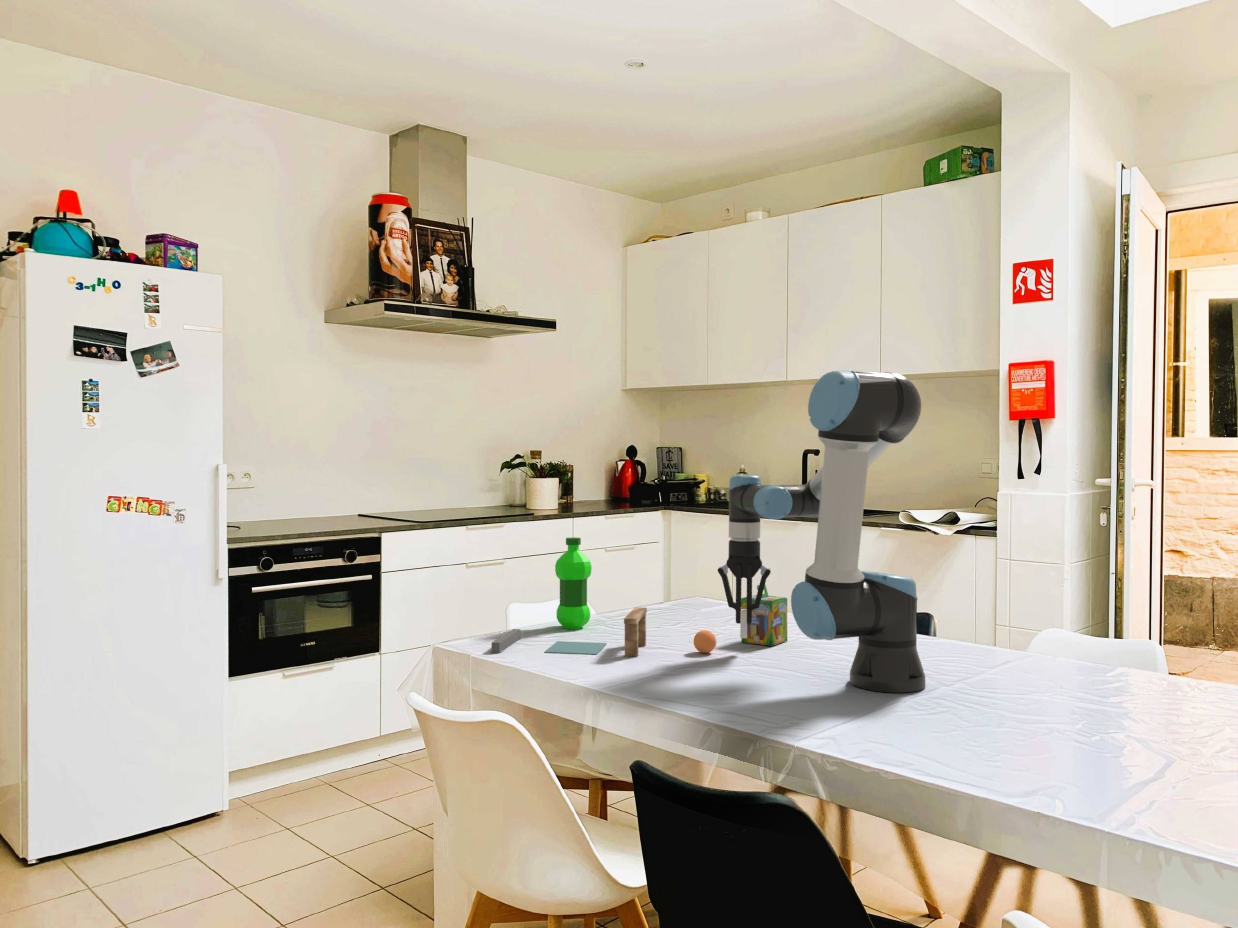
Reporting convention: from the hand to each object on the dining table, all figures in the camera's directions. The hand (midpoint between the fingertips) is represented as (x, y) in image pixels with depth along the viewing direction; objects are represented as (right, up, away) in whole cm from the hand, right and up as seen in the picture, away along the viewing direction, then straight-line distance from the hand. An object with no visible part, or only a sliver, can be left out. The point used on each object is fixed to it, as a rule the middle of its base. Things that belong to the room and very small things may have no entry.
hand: (743, 636), depth 218 cm
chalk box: (+7, -4, +15) cm, 17 cm away
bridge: (-26, -4, +4) cm, 27 cm away
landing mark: (-41, -4, +7) cm, 42 cm away
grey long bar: (-58, -4, +10) cm, 59 cm away
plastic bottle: (-43, -4, +35) cm, 55 cm away
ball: (-9, -1, +1) cm, 9 cm away
